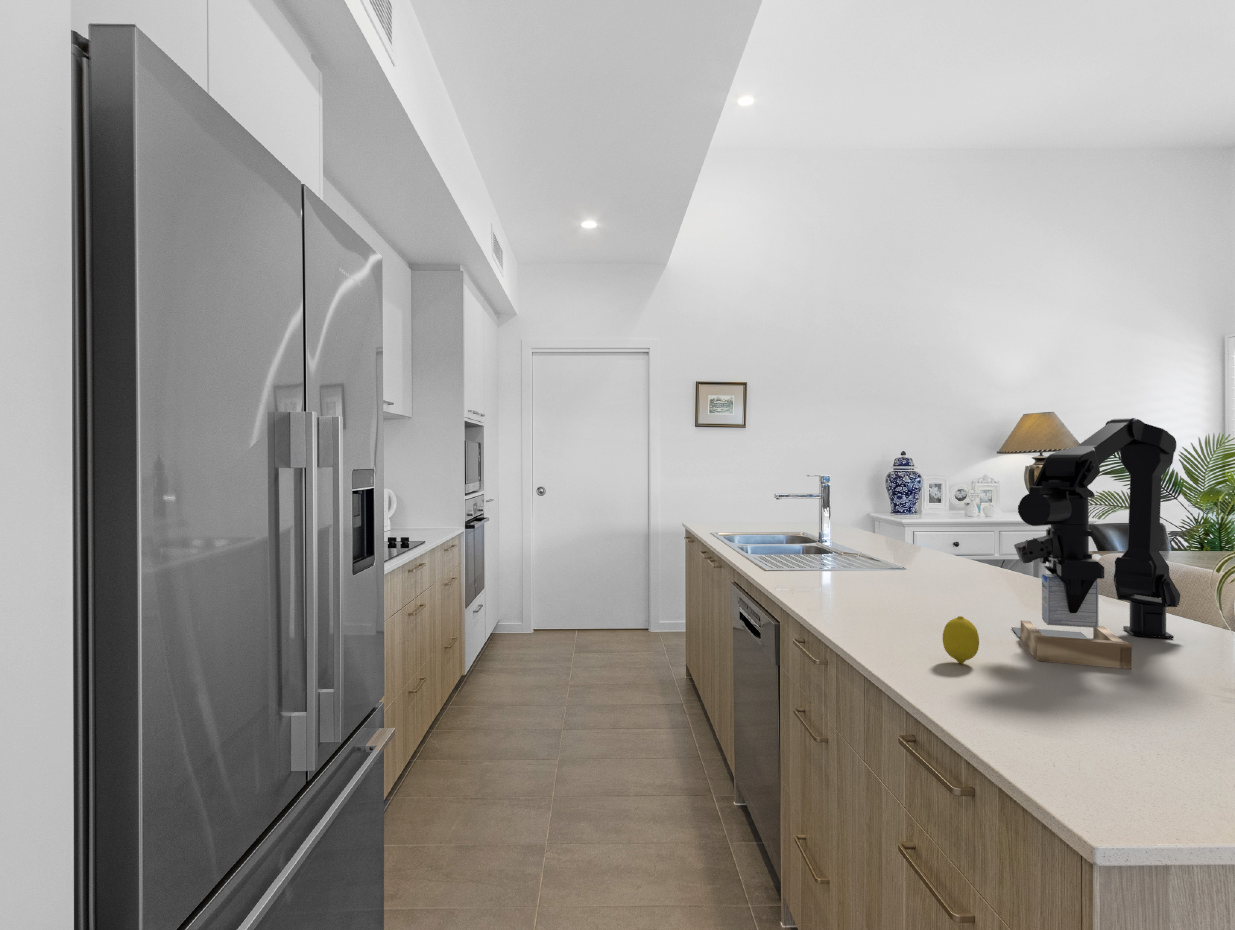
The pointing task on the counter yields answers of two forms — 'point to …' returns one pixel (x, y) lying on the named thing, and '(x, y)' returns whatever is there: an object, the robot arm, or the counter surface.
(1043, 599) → the medicine box
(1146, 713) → the counter surface
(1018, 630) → the mat
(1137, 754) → the counter surface
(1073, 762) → the counter surface
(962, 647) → the lemon
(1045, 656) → the dispenser rack
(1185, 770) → the counter surface
